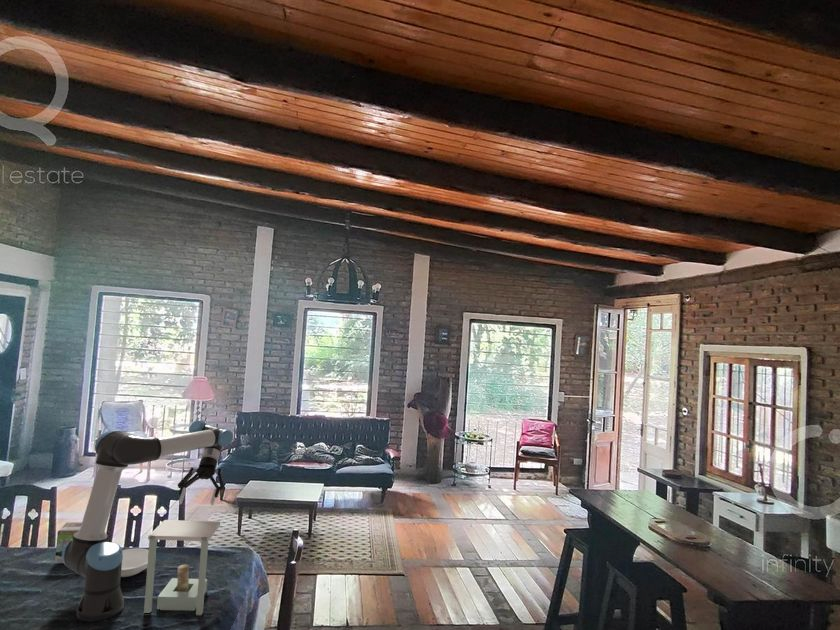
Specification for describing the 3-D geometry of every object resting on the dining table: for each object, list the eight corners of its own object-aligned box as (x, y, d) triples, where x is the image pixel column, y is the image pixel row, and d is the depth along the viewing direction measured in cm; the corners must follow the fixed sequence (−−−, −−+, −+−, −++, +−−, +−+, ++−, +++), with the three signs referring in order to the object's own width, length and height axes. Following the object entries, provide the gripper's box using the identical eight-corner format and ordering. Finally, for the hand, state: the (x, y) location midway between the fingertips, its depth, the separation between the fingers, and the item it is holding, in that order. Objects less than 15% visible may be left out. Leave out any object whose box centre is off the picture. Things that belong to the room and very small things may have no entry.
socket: (142, 614, 192) (148, 535, 193) (161, 590, 209) (166, 517, 210) (202, 615, 194) (208, 537, 195) (216, 591, 211) (221, 519, 212)
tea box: (54, 564, 223) (56, 530, 223) (63, 554, 233) (66, 521, 233) (92, 562, 227) (95, 529, 227) (100, 552, 237) (103, 520, 237)
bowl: (163, 565, 229) (164, 551, 229) (134, 587, 210) (135, 572, 210) (122, 560, 231) (123, 546, 231) (89, 582, 212) (90, 566, 212)
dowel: (175, 600, 201) (176, 569, 201) (178, 594, 205) (179, 564, 205) (186, 599, 202) (187, 569, 202) (189, 594, 205) (190, 564, 206)
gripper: (237, 465, 245) (226, 508, 230) (183, 462, 243) (168, 506, 228) (235, 457, 240) (223, 500, 225) (180, 454, 238) (164, 498, 223)
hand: (195, 503), depth 227 cm, fingers open, 13 cm apart
